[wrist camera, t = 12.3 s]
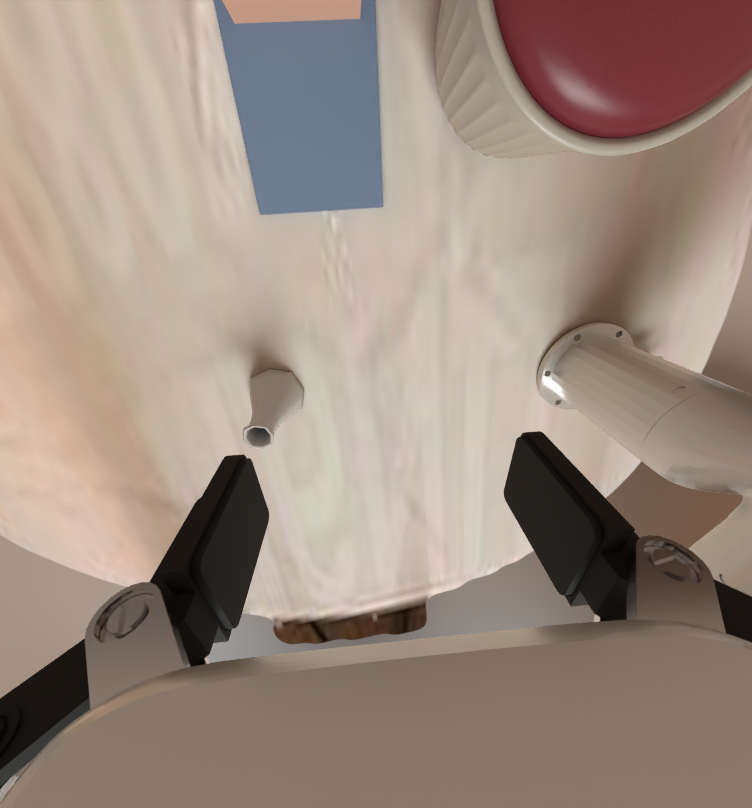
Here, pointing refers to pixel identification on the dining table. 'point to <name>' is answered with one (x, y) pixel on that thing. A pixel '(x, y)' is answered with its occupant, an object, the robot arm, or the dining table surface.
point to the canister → (588, 71)
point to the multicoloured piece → (306, 100)
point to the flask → (271, 405)
